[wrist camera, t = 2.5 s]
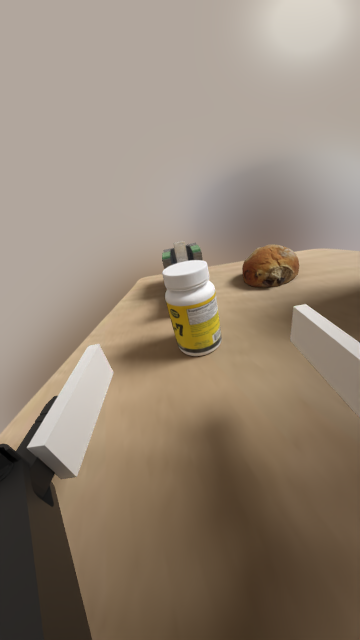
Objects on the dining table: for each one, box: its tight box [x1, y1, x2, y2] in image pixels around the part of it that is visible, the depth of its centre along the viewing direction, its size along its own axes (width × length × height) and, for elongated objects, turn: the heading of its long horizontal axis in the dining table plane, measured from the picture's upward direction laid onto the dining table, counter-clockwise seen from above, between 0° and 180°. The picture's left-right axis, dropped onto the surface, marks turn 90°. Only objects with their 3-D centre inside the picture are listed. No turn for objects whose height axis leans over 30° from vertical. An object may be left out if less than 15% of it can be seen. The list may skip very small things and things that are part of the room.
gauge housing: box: [162, 243, 203, 269], centre depth 44 cm, size 10×8×8 cm
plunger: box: [173, 241, 188, 263], centre depth 34 cm, size 10×5×9 cm, turn 3°
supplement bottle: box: [162, 260, 221, 356], centre depth 23 cm, size 6×6×10 cm
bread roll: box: [243, 245, 299, 287], centre depth 38 cm, size 10×10×8 cm
